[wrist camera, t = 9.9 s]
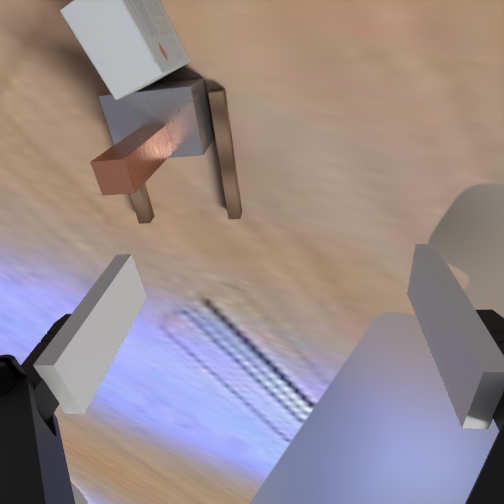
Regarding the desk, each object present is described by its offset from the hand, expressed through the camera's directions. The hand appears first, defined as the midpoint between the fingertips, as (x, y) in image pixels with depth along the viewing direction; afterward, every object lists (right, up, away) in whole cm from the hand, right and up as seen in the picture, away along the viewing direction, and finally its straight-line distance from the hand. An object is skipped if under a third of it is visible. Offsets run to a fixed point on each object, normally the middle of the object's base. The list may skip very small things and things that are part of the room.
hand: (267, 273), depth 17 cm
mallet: (-11, +18, +26) cm, 34 cm away
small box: (-12, +25, +22) cm, 35 cm away
